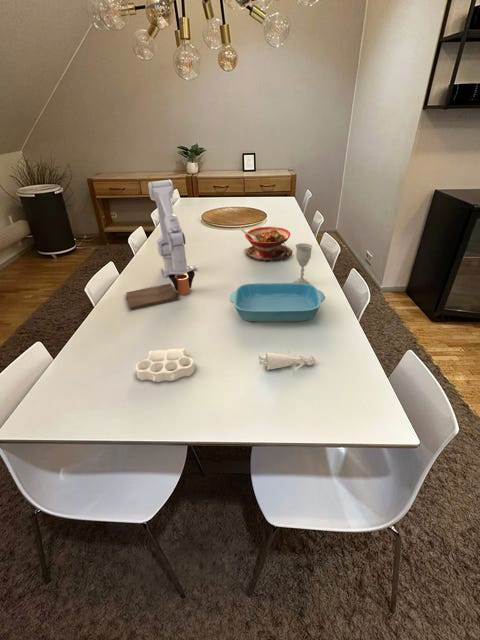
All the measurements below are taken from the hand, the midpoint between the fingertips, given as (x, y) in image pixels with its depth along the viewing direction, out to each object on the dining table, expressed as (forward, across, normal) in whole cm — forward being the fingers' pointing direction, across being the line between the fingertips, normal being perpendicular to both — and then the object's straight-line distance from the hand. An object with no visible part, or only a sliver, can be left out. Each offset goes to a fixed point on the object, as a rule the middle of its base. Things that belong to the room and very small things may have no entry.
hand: (183, 288), depth 153 cm
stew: (+2, +51, +22) cm, 56 cm away
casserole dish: (+2, +30, -32) cm, 44 cm away
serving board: (+2, -14, +1) cm, 14 cm away
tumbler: (+2, 0, 0) cm, 2 cm away
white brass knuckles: (+2, -18, -49) cm, 52 cm away
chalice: (+2, +51, -16) cm, 53 cm away
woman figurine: (+2, +18, -63) cm, 66 cm away
